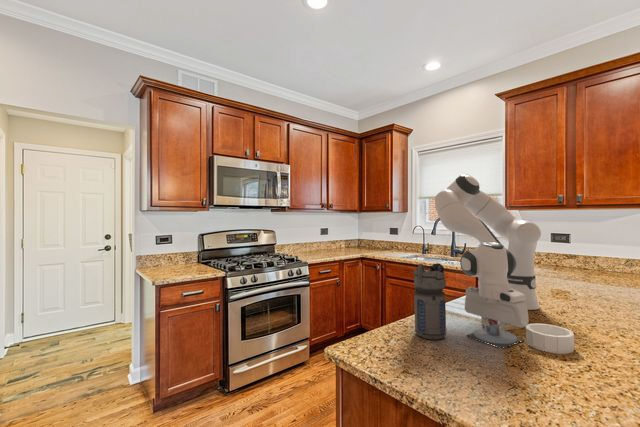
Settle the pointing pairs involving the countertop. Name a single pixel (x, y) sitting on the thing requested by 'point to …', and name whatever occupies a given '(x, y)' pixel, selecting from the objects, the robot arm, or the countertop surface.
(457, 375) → the countertop surface
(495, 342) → the lid
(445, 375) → the countertop surface
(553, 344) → the bowl
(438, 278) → the beverage bottle
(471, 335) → the mat
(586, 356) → the countertop surface
